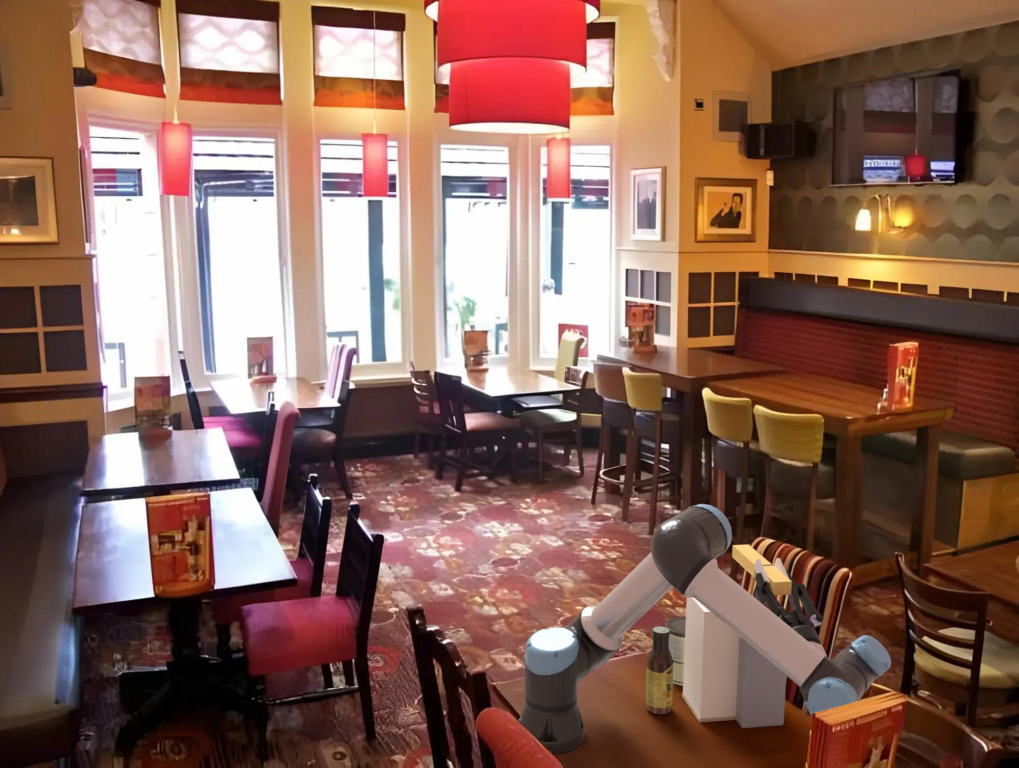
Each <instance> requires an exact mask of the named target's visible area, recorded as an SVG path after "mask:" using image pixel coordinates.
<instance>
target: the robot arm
mask: <svg viewBox="0 0 1019 768" xmlns="http://www.w3.org/2000/svg"><path fill="white" fill-rule="evenodd" d="M732 534H733V533H732V527H731V524H730V522H729V519H728V518H727V516H726V515H725V514H724V513H723V512H722V510H720V509H719V508H717V507H715V506H713V505H710V504H705V503H699V504H696V505H691V506H688V507H687V508H686V509H685V510H683V511H682V512H679V513H678V514H676V515H674V516H672V517H671V518H669V519H666V520H665V521H663V522H662V523H660V524H659V525H658V526H657V528H656V529H655V531H654V532H653V534H652V537H651V539H650V540H651V541H650V553H648V555H647V556H646V557H645V558H644V559H642V560H641V562H640V563H639V564H638V565H636V567H634V569H633V570H631V571H630V573H628V574H627V575H626V577H624V579H623V580H621V582H620V583H618V584H617V586H615V587H614V588H613V590H612V591H610V593H608V595H606V596H605V597H604V598H603V599H602V600H601V601H600V602H599V603H598V604H597V605H588V606H586V607H585V608H583V610H582V611H581V612H580V613H579V614H578V615H576V617H575V618H573V620H572V621H570V623H568V624H567V625H566V626H564V627H558V626H556V627H555V626H553V627H549V628H547V629H546V628H542V629H540V630H538V631H535V632H534V633H533V634H532V635H530V637H528V640H527V642H526V643H525V644H526V645H525V652H524V653H525V654H524V666H525V667H524V669H525V673H524V674H525V675H524V676H525V678H524V681H525V682H524V683H525V684H524V685H525V686H524V687H525V689H524V693H525V695H524V699H525V701H524V704H523V707H522V710H521V715H520V717H519V719H518V721H520V722H521V723H522V724H523V725H524V726H525V727H526V728H527V729H528V730H529V731H531V732H532V733H533V734H534V735H535V736H536V737H537V738H538V739H539V741H540V742H541V743H542V744H543V745H544V746H546V747H547V748H548V749H549V750H550V751H551V752H552V753H551V754H561V753H566V752H569V751H573V750H574V749H576V748H578V747H579V746H580V745H581V744H582V743H583V742H584V739H585V724H584V722H583V717H582V715H581V712H580V709H579V706H578V684H579V682H580V681H582V679H584V678H585V677H586V676H587V675H589V674H590V673H592V672H593V671H594V670H596V669H598V668H599V667H600V666H602V665H604V664H605V663H607V662H608V661H610V660H611V658H612V657H613V655H614V654H615V653H616V651H617V650H618V649H620V647H621V646H622V645H623V642H624V634H625V633H626V632H627V631H628V630H629V629H630V628H631V627H633V626H634V625H635V624H636V623H637V621H639V620H640V619H641V618H642V617H644V616H645V614H647V612H649V610H651V609H652V608H653V607H654V606H655V605H656V604H657V603H658V602H659V601H660V600H661V599H663V597H665V596H666V594H667V593H669V592H670V591H671V590H672V589H675V590H676V592H677V591H678V593H680V594H681V595H682V596H683V597H685V599H687V598H691V597H693V598H695V599H696V600H697V601H698V602H700V603H701V604H702V605H703V606H704V607H706V608H707V609H708V610H709V611H710V612H712V613H713V614H714V615H715V616H716V617H718V618H719V619H720V620H721V621H722V622H724V623H725V624H726V625H727V626H728V627H729V628H731V629H732V630H733V631H734V632H735V633H737V634H738V635H739V636H740V637H741V638H743V639H744V640H745V641H746V642H747V643H749V644H750V645H751V646H752V647H753V648H755V649H756V650H757V651H758V652H759V653H760V654H762V655H763V656H764V657H765V658H766V659H768V660H769V661H770V662H771V663H772V664H774V665H775V666H776V667H777V668H778V669H780V670H781V671H782V672H783V673H784V674H786V677H788V678H789V679H790V680H792V682H794V683H795V684H796V685H797V686H798V687H799V690H800V693H801V696H802V698H803V701H804V705H805V708H806V709H807V710H808V713H809V714H810V717H812V714H813V713H815V712H819V711H823V710H827V709H830V708H834V707H838V706H842V705H846V704H849V703H852V702H855V701H858V702H859V701H860V700H861V698H862V697H863V695H865V694H866V692H867V690H868V689H869V688H870V686H871V685H872V683H873V682H874V681H875V680H877V679H878V678H879V677H882V676H883V675H884V673H886V671H888V670H889V669H890V668H891V666H892V660H891V656H890V654H889V652H888V651H887V649H886V647H884V646H883V644H881V642H879V640H877V639H876V638H874V637H873V636H870V635H867V634H866V635H861V636H860V637H858V638H857V639H855V640H854V641H851V642H850V644H848V645H847V646H846V647H845V648H844V649H843V650H841V651H840V652H838V653H837V654H836V655H835V656H834V657H833V658H831V659H830V658H829V657H828V656H827V654H826V653H827V652H826V650H825V649H824V646H823V645H822V641H821V639H820V637H819V635H818V633H817V631H816V629H815V628H816V627H817V628H820V627H821V625H822V623H823V621H824V619H825V618H824V617H823V615H822V614H821V613H820V612H819V611H818V609H817V607H816V606H815V603H814V602H813V600H812V598H811V596H810V593H809V591H808V589H807V587H806V585H805V584H804V583H796V582H795V581H794V578H793V577H792V575H791V572H790V571H789V570H788V571H786V569H785V567H784V564H783V561H782V559H781V558H780V557H776V559H775V562H774V564H773V566H774V567H775V568H777V569H778V570H779V571H780V572H781V573H782V574H784V575H785V576H786V577H787V578H788V579H790V580H791V581H792V587H791V595H788V600H789V606H790V609H791V611H787V610H786V608H785V607H784V606H782V605H781V603H780V602H779V599H777V597H776V595H774V594H773V593H772V591H771V590H770V588H769V587H768V585H769V580H768V577H767V575H766V572H765V570H764V567H763V565H762V563H761V560H760V559H757V560H756V562H755V565H754V568H755V571H756V573H757V574H756V577H755V578H754V580H755V582H756V586H755V587H754V589H753V592H752V594H751V593H749V592H748V591H747V590H746V589H745V588H743V586H741V585H740V584H738V583H737V582H736V581H735V580H734V579H732V577H730V576H729V575H727V573H725V572H724V571H723V570H722V569H720V568H719V567H718V560H717V557H720V556H722V555H724V554H725V553H726V552H727V550H728V549H729V547H730V545H731V544H732V543H731V542H732V539H733V535H732ZM801 605H802V606H801ZM802 607H803V608H802ZM803 609H804V610H805V613H806V615H807V616H805V615H804V614H803Z"/></svg>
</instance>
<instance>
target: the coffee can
mask: <svg viewBox="0 0 1019 768" xmlns="http://www.w3.org/2000/svg"><path fill="white" fill-rule="evenodd" d="M664 627H665V628H668V629H669V630H670V636H669V650H670V653H671V656H672V659H673V662H674V665H673V685H677V686H681V687H683V681H684V654H685V628H686V616H677V617H672V618H670V619H667V620H666V622H665V625H664Z"/></svg>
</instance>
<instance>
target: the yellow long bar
mask: <svg viewBox="0 0 1019 768" xmlns="http://www.w3.org/2000/svg"><path fill="white" fill-rule="evenodd" d="M731 553H732V554H731V555H732V557H731V558H732V559H733V560H735V561H736V562H737V563H738V564H739V565H740V566H741V567H742V568H743V569H744V570H745V571H747V572H748V573H749V574H750V575H751V576H752V577H753V578H754V579H755V577H756V574H757V573H756V571H755V568H754V565H755V562H756V560H757V559H760V560H761V563H762V565H763V567H764V570H765V572H766V575H767V577H768V580H769V585H768V587H769V588H770V590H771V591H772V593H773V594H774V596H785V595H786V596H789V595H791V587H792V581H791V580H790V579H788V578H787V577H786V576H785V575H784V574H782V573H781V572H780V571H779V570H778V569H777V568H775V567H774V564H772V563H771V562H770V561H769V560H767V559H766V557H764V556H763V555H762V554H760V553H759V552H758V551H757V550H756V549H754V548H753V547H752V546H751V545H750V544H736V545H735V544H733V545H732V551H731Z"/></svg>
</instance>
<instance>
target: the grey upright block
mask: <svg viewBox="0 0 1019 768" xmlns="http://www.w3.org/2000/svg"><path fill="white" fill-rule="evenodd" d="M786 687H787V675H786V674H784V673H783V672H782V671H781V670H780V669H778V668H777V667H776V666H775V665H774V664H772V663H771V662H770V661H769V660H768V659H766V658H765V657H764V656H763V655H762V654H760V653H759V652H758V651H757V650H756V649H755V648H753V647H752V646H751V645H750V644H749V643H747V642H746V641H745V640H744V639H743V638H741V637H740V639H739V660H738V681H737V701H736V722H737V723H738V725H739V726H740V727H741V729H749V728H759V727H760V728H761V727H774V726H776V727H777V726H783V725H784V724H785V723H784V722H785V705H786Z"/></svg>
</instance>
